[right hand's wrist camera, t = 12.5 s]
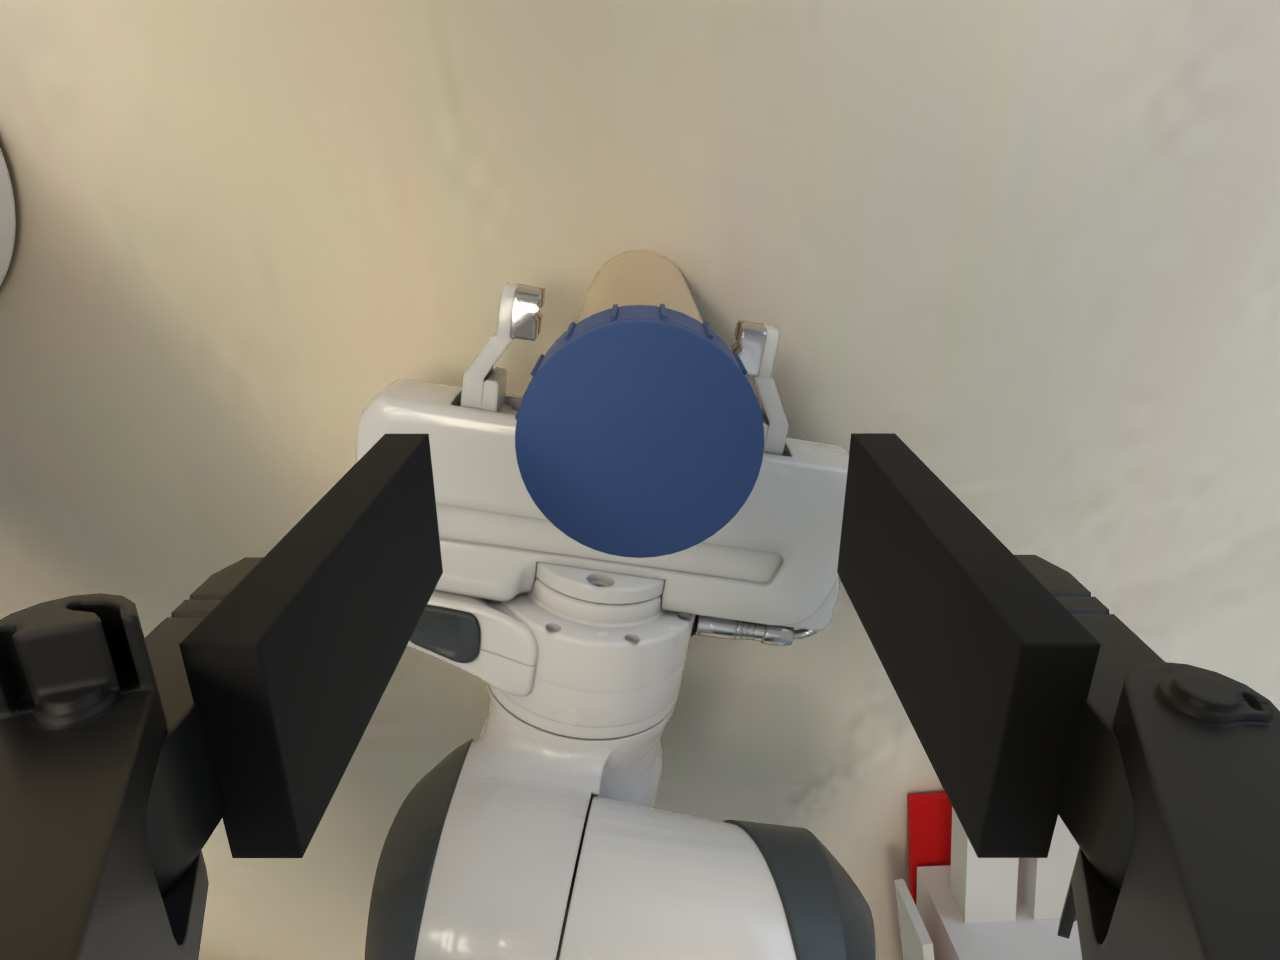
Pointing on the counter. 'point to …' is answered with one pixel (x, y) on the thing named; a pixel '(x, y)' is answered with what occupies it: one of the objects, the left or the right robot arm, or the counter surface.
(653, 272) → the jar
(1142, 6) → the counter surface
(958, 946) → the toy
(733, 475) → the lid
